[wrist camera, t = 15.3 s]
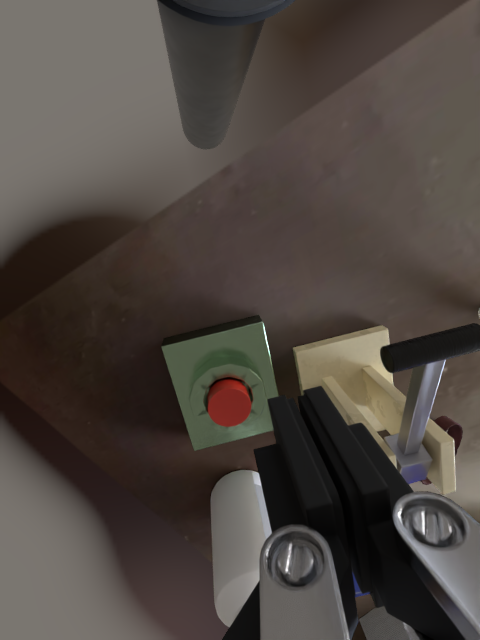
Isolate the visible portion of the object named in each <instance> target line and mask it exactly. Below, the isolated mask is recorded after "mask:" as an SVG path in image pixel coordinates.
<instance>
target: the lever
mask: <svg viewBox="0 0 480 640" xmlns="http://www.w3.org/2000/svg"><path fill="white" fill-rule="evenodd" d="M477 351H480V325H478V324H475V323H472V324H468V325H465V326H461V327H457V328H453V329H449V330H445V331H441V332H437V333H433V334H429V335H425V336H421V337H417V338H413V339H409V340H405V341H402V342H398V343H394V344H390V345H386V346H382V347H381V349H380V357H381V361H382V363H383V366H384V367H385V369H386V370H387V371H388V372H389V373H395V372H399V371H403V370H407V369H411V368H413V369H412V374H411V378H410V383H409V388H408V393H407V397H406V402H405V407H404V411H403V416H402V421H401V426H400V430H399V433H398V434H394V435H390V436H386V437H384V442H385V443H386V444H387V446H388V447H389V448H390V449H391V450H392V452H393V453H394V454H395V456H396V466H397V470H398V471H399V472H400V474H401V475H402V477H403V478H404V479H405V481H406V482H407V483H408V484H410V483H414V482H417V481H421V480H425V479H426V477H427V474H428V471H429V468H430V466H431V463H432V458H431V456H430V455H429V453H428V452H427V450H426V449H425V447H424V446H423V444H422V443H421V442H422V439H423V436H424V432H425V429H426V425H427V422H428V418H429V415H430V412H431V408H432V405H433V401H434V398H435V394H436V391H437V388H438V384H439V381H440V377H441V374H442V371H443V367H444V364H445V360H446V359H450V358H454V357H458V356H461V355H465V354H469V353H473V352H477Z"/></svg>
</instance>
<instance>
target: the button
mask: <svg viewBox="0 0 480 640" xmlns="http://www.w3.org/2000/svg"><path fill="white" fill-rule="evenodd" d="M207 404H208V414H209V416H210V418H211V419H212V420H213V421H214V422H215V423H217V424H218V425H221V426H225V427H232V426H236V425H239V424H241V423H242V422H243V421H245V420H246V419H247V417H248V416H249V414H250V411H251V401H250V397H249V393H248V390H247V388H246V387H245V385H244V384H242V383H241V382H240V381H237V380H234V379H224V380H220V381H218V382H217V383H215V384H214V385H213V386H212V387H211V388H210V390H209V392H208V396H207Z"/></svg>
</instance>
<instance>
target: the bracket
mask: <svg viewBox="0 0 480 640" xmlns="http://www.w3.org/2000/svg"><path fill="white" fill-rule="evenodd" d="M386 345H389V335H388V329H387V328H385V327H384V326H382V325H381V326H377V327H373V328H369V329H365V330H361V331H357V332H353V333H349V334H345V335H341V336H337V337H333V338H329V339H325V340H321V341H317V342H313V343H309V344H305V345H301V346H297V347H293V353H294V359H295V364H296V369H297V374H298V380H299V385H300V390H301V396H302V395H303V390H306V389H310V388H314V387H318V386H322V387H323V389H324V390H325V392H326V393H327V395H328V396H329V398H330V399H331V401H332V402H333V404H334V405H335V407H336V408H337V410H338V411H339V413H340V414H341V416H342V417H343V419H344V420H345V422H346V423H347V425H352V424H356V423H360V422H361V423H363V424H364V425H365V426H366V428H367V429H368V430H369V432H370V433H371V435H372V436H373V437H374V439H375V440H376V441H377V443H378V444H379V445H380V447H381V448H382V449H383V451H384V452H385V454H386V455H387V456H388V458H389V459H390V460H391V462H392V463H393V464H394V466H395V467H396V468H397V466H396V456H395V454H394V453H393V452H392V450H391V449H390V448H389V447H388V446H387V444H386V443H385V442H384V441H383V439H382V438H381V437H380V436H379V434H378V433H377V432H378V431H382V430H385V429H386V430H387V431H388V432H389V433H390V434H391V435H394V434H398V433H399V430H400V426H401V421H402V416H403V411H404V407H405V402H406V396H404V395H403V394H402V393H401V392H400V391H399V390H398V389H397V388H396V387H394V386H393V378H392V373H389V372H388V371H387V370H386V369H385V367H384V366H383V363H382V361H381V357H380V349H381V347H382V346H386ZM421 443H422V444H423V446H424V447H425V449H426V450H427V452H428V453H429V455H430V456H431V458H432V463H431V466H430V468H429V471H428V474H427V477H428V479H429V480H430V481H431V482H432V483H433V484H434V486H435V487H436V488H437V489H438V490H439V491H440V492H441V494H442V495H445V494H448V493H452V492H455V491H456V484H455V454H454V439H453V438H452V437H450V436H449V435H448V434H447V433H446V432H445V431H444V430H443V429H441V428H440V427H439V426H438V425H437V424H436V423H435V422H434V421H433V420H431V419H430V418H428V422H427V425H426V429H425V432H424V436H423V439H422V442H421Z"/></svg>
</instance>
